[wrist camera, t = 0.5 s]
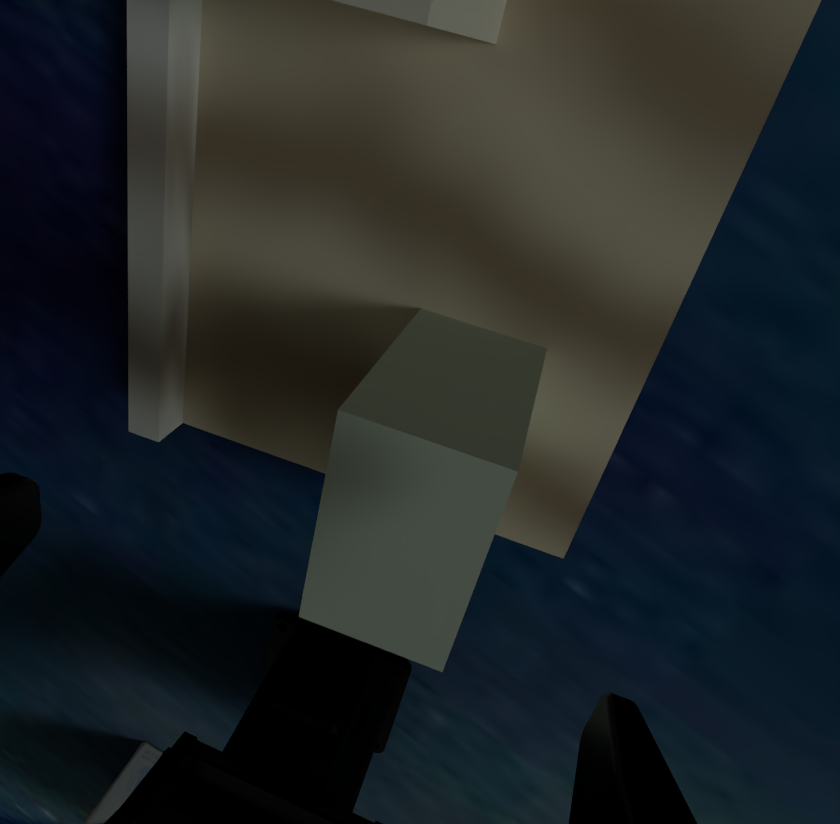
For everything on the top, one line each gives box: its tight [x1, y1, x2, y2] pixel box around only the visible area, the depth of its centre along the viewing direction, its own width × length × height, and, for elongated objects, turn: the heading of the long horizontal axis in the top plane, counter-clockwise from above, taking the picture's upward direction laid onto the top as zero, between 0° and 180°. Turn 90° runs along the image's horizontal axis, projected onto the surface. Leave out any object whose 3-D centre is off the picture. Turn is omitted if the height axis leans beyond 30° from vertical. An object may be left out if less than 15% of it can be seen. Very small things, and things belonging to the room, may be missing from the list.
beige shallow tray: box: [127, 0, 821, 558], centre depth 19 cm, size 19×16×2 cm
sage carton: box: [299, 308, 547, 672], centre depth 18 cm, size 4×7×7 cm, turn 166°
